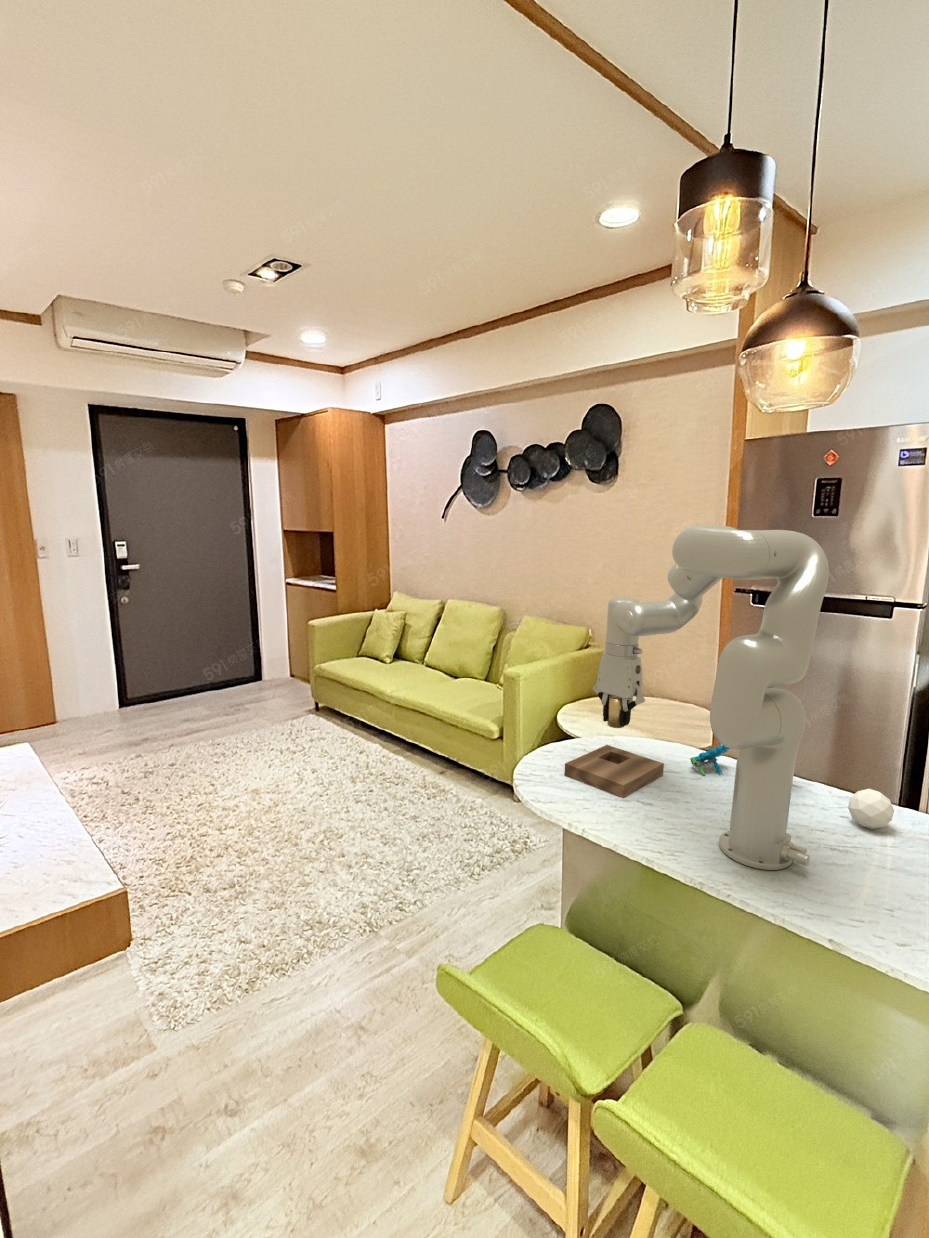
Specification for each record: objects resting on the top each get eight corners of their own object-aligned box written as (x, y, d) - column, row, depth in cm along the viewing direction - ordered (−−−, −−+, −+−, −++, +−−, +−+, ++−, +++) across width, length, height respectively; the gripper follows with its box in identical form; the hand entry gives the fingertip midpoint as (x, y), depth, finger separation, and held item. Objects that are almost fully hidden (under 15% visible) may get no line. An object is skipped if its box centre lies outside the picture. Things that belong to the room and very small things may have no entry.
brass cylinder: (627, 725, 152) (629, 697, 151) (618, 729, 149) (620, 701, 148) (613, 721, 155) (615, 694, 154) (604, 724, 152) (605, 697, 151)
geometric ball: (877, 842, 127) (896, 825, 121) (836, 819, 131) (853, 802, 125) (886, 814, 131) (906, 797, 125) (847, 793, 135) (864, 774, 129)
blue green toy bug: (714, 753, 161) (734, 738, 153) (726, 775, 158) (747, 760, 150) (679, 764, 157) (697, 749, 149) (690, 786, 154) (710, 772, 146)
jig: (663, 775, 151) (663, 763, 151) (622, 797, 139) (623, 785, 138) (606, 755, 162) (606, 744, 162) (564, 775, 150) (564, 763, 149)
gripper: (661, 653, 145) (655, 728, 149) (600, 641, 157) (595, 710, 161) (644, 658, 140) (638, 736, 144) (582, 645, 152) (578, 717, 155)
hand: (616, 721), depth 152 cm, fingers closed on brass cylinder, 4 cm apart
